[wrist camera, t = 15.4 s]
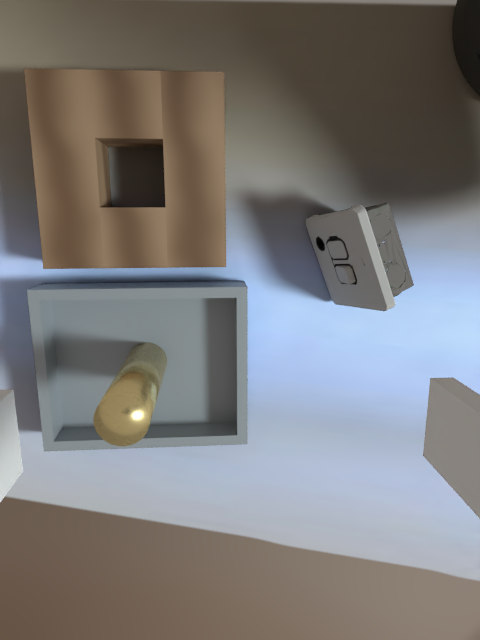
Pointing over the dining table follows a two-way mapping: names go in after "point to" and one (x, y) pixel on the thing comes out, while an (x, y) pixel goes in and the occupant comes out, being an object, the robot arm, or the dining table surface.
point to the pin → (131, 396)
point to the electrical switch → (360, 256)
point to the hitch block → (93, 166)
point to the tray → (116, 343)
